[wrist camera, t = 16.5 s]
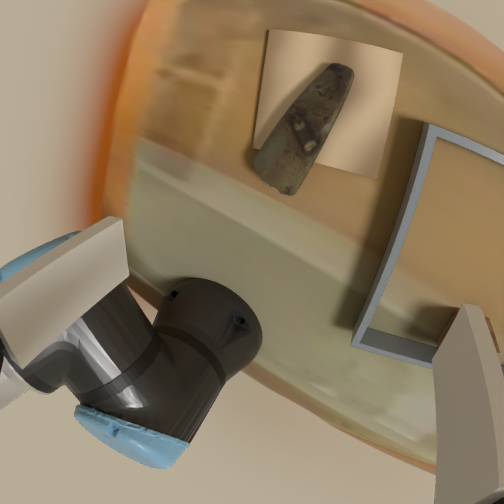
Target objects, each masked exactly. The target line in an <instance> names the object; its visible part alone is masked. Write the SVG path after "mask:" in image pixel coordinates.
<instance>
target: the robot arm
mask: <svg viewBox="0 0 504 504" xmlns="http://www.w3.org/2000/svg"><path fill="white" fill-rule="evenodd" d="M128 276H129V269H128V262H127V255H126V247H125V239H124V230H123V220H122V219H121V218H117V217H113V216H108V217H106V218H104V219H103V220H101V221H99V222H97V223H95V224H94V225H92V226H90V227H89V228H87V229H85V230H83V231H76V232H73V233H69V234H67V235H64V236H61V237H59V238H57V239H54V240H52V241H50V242H47V243H46V244H43V245H41V246H39V247H37V248H35V249H33V250H31V251H29V252H27V253H25V254H23V255H21V256H19V257H17V258H16V259H14V260H12V261H10V262H9V263H7V264H6V265H4V266H3V267H2V268H1V269H0V410H1V409H2V408H4V407H5V406H7V405H8V404H10V403H11V402H12V401H14V400H15V399H17V398H18V397H20V396H21V395H22V394H24V393H25V392H27V391H28V390H32V391H35V392H37V393H40V394H44V395H47V394H50V393H52V392H54V391H55V390H57V389H58V388H59V387H61V386H63V385H66V386H67V388H68V389H69V390H70V391H71V392H72V393H73V394H74V395H75V397H76V398H77V399H78V400H79V401H80V405H77V406H76V410H75V412H74V416H75V418H76V420H78V421H79V423H80V424H81V425H82V426H83V427H84V428H85V429H86V430H88V431H89V432H90V433H91V434H92V435H94V436H95V437H96V438H98V439H99V440H101V441H102V442H103V443H105V444H107V445H108V446H110V447H111V448H113V449H115V450H116V451H118V452H119V453H122V454H123V455H125V456H127V457H129V458H131V459H133V460H135V461H137V462H139V463H141V464H144V465H146V466H149V467H153V468H157V469H165V468H168V467H171V466H172V465H173V464H174V463H175V462H176V461H177V459H178V458H179V457H180V455H181V454H182V453H183V451H184V450H185V449H186V448H188V447H189V445H190V442H191V441H192V439H193V437H194V436H195V434H196V432H197V431H198V429H199V427H200V426H201V424H202V422H203V420H204V419H205V417H206V415H207V413H208V412H209V410H210V408H211V407H212V405H213V403H214V401H215V399H216V398H217V396H218V394H219V393H220V391H221V389H222V387H223V386H224V384H225V383H226V381H228V380H229V379H230V378H231V377H233V376H234V375H235V374H237V373H238V372H239V371H240V370H242V369H243V368H244V367H245V366H247V365H248V364H249V363H250V362H251V361H252V360H253V359H254V358H255V356H256V355H257V353H258V351H259V349H260V347H261V344H262V330H261V326H260V323H259V321H258V319H257V317H256V315H255V313H254V312H253V310H252V309H251V308H250V307H249V305H248V304H247V303H246V302H245V301H244V300H243V299H242V298H241V297H240V296H238V295H237V294H236V293H235V292H233V291H232V290H230V289H229V288H227V287H225V286H223V285H221V284H219V283H217V282H214V281H211V280H207V279H202V278H189V279H184V280H182V281H179V282H178V283H176V284H175V285H174V286H173V287H172V288H171V289H170V290H169V291H168V292H167V293H166V295H165V296H164V298H163V300H162V303H161V305H160V308H159V310H158V313H157V315H156V318H155V320H154V323H153V325H152V324H151V323H150V321H149V320H148V318H147V317H146V315H145V314H144V312H143V311H142V309H141V308H140V306H139V305H138V303H137V302H136V300H135V299H134V297H133V296H132V294H131V292H130V291H129V289H128V287H127V286H126V284H125V283H124V281H123V280H125V279H126V278H127V277H128ZM432 366H433V376H434V387H435V402H436V425H437V463H436V485H435V498H434V504H504V376H503V372H502V368H501V365H500V362H499V358H498V355H497V352H496V349H495V346H494V343H493V340H492V337H491V334H490V331H489V328H488V325H487V323H486V320H485V317H484V315H483V312H482V310H481V307H479V306H475V305H471V304H467V303H463V304H462V306H461V308H460V310H459V312H458V314H457V316H456V318H455V320H454V322H453V324H452V325H451V327H450V329H449V331H448V333H447V335H446V336H445V338H444V340H443V342H442V343H441V345H440V347H439V349H438V350H437V352H436V354H435V355H434V357H433V358H432Z"/></svg>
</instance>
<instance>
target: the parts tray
mask: <svg viewBox="0 0 504 504" xmlns="http://www.w3.org/2000/svg"><path fill="white" fill-rule="evenodd" d="M436 137H440V138H443V139H445V140H448V141H450V142H453V143H455V144H458V145H460V146H463V147H465V148H467V149H470V150H472V151H474V152H477V153H479V154H481V155H483V156H486V157H488V158H490V159H492V160H494V161H496V162H498V163H500V164H502V165H504V155H502V154H500V153H498V152H496V151H494V150H492V149H490V148H488V147H486V146H483V145H481V144H479V143H477V142H475V141H472V140H470V139H468V138H465V137H463V136H461V135H458V134H456V133H453V132H451V131H448V130H446V129H443V128H440V127H438V126H435V125H432V124H429V123H427V122H424V124H423V128H422V132H421V136H420V141H419V145H418V149H417V152H416V156H415V160H414V164H413V167H412V171H411V175H410V178H409V181H408V185H407V188H406V192H405V195H404V198H403V201H402V204H401V208H400V211H399V214H398V217H397V220H396V223H395V226H394V229H393V232H392V234H391V237H390V240H389V243H388V246H387V248H386V251H385V254H384V256H383V259H382V262H381V264H380V267H379V270H378V272H377V275H376V277H375V280H374V282H373V285H372V287H371V289H370V292H369V294H368V297H367V299H366V301H365V304H364V306H363V308H362V311H361V313H360V315H359V317H358V320H357V322H356V324H355V326H354V329H353V334H352V339H351V345H350V346H352V347H355V348H359V349H362V350H365V351H369V352H372V353H376V354H379V355H383V356H386V357H390V358H393V359H397V360H400V361H404V362H408V363H411V364H415V365H419V366H422V367H426V368H430V369H433V366H432V358H433V357H434V355H435V354H436V352H437V350H438V348H436V347H432V346H429V345H425V344H422V343H418V342H415V341H411V340H408V339H404V338H401V337H397V336H394V335H391V334H387V333H384V332H381V331H377V330H374V329H371V328H367V327H368V325H369V322H370V320H371V318H372V316H373V314H374V312H375V310H376V308H377V305H378V303H379V301H380V299H381V296H382V294H383V292H384V290H385V287H386V285H387V283H388V280H389V278H390V276H391V273H392V271H393V268H394V266H395V263H396V261H397V258H398V256H399V253H400V251H401V248H402V246H403V243H404V240H405V238H406V235H407V232H408V229H409V227H410V224H411V221H412V218H413V215H414V212H415V209H416V206H417V203H418V200H419V197H420V194H421V191H422V187H423V184H424V181H425V178H426V174H427V171H428V167H429V164H430V160H431V156H432V153H433V149H434V145H435V141H436ZM501 368H502V372H503V376H504V365H501Z"/></svg>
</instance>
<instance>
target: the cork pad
mask: <svg viewBox="0 0 504 504" xmlns="http://www.w3.org/2000/svg"><path fill="white" fill-rule="evenodd" d="M402 57H403V54H402V53H399V52H395V51H392V50H388V49H384V48H380V47H377V46H372V45H368V44H364V43H360V42H355V41H350V40H345V39H340V38H335V37H329V36H323V35H316V34H309V33H302V32H294V31H284V30H273V29H269V36H268V43H267V50H266V57H265V64H264V71H263V77H262V85H261V92H260V99H259V106H258V113H257V120H256V128H255V135H254V142H253V148H254V149H259V150H260V148H261V147H262V145H263V144H264V142H265V141H266V139H267V138H268V136H269V135H270V133H271V132H272V130H273V129H274V128H275V126H276V125H277V123H278V122H279V121H280V119H281V118H282V117H283V115H284V114H285V113H286V111H287V110H288V109H289V107H290V106H291V105H292V104H293V102H294V101H295V100H296V99H297V98H298V96H299V95H300V94H301V93H302V92H303V91H304V90H305V89H306V87H307V86H308V85H309V84H310V83H311V82H312V81H313V80H314V79H315V78H316V77H317V76H318V75H319V74H320V73H322V72H323V71H324V70H325V69H326V68H327V67H328V66H329V65H330V64H332V63H340V64H342V65H346V66H348V67H350V68H351V69H353V71H354V80H353V83H352V86H351V88H350V91H349V93H348V96H347V98H346V100H345V102H344V105H343V107H342V109H341V111H340V113H339V115H338V117H337V119H336V121H335V123H334V125H333V127H332V129H331V131H330V133H329V135H328V137H327V139H326V141H325V143H324V145H323V147H322V149H321V151H320V152H319V154H318V156H317V158H316V160H315V161H314V162H315V163H319V164H323V165H326V166H330V167H334V168H337V169H341V170H345V171H348V172H352V173H355V174H359V175H362V176H365V177H369V178H372V179H375V180H377V176H378V172H379V168H380V164H381V160H382V156H383V152H384V148H385V144H386V140H387V135H388V131H389V126H390V122H391V117H392V112H393V108H394V103H395V98H396V92H397V87H398V81H399V76H400V70H401V64H402Z"/></svg>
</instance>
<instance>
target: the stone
mask: <svg viewBox="0 0 504 504" xmlns="http://www.w3.org/2000/svg"><path fill="white" fill-rule="evenodd" d="M353 80H354V71H353V69H351V68H350V67H348V66H346V65H342V64H340V63H332V64H330V65H329V66H328V67H327V68H326V69H325V70H324V71H323V72H322V73H320V74H319V75H318V76H317V77H316V78H315V79H314V80H313V81H312V82H311V83H310V84H309V85H308V86H307V87H306V89H305V90H304V91H303V92H302V93H301V94H300V95H299V96H298V98H297V99H296V100H295V101H294V102H293V104H292V105H291V106H290V107H289V109H288V110H287V111H286V113H285V114H284V115H283V117H282V118H281V119H280V121H279V122H278V123H277V125H276V126H275V128H274V129H273V130H272V132H271V133H270V135H269V136H268V138H267V139H266V141H265V142H264V144H263V145H262V147H261V148H260V150H259V152H258V153H257V155H256V156H255V158H254V161H253V164H254V168H255V170H256V172H257V174H258V175H259V176H260V177H261V179H262V180H264V181H266V182H267V183H268V184H269V185H270V186H272V187H276V188H277V190H279V192H280V193H282V194H286V195H294V194H296V192H297V190H298V189H299V187H300V186H301V184H302V182H303V181H304V179H305V177H306V176H307V174H308V172H309V170H310V168H311V167H312V165H313V163H314V161H315V160H316V158H317V156H318V154H319V152H320V151H321V149H322V147H323V145H324V143H325V141H326V139H327V137H328V135H329V133H330V131H331V129H332V127H333V125H334V123H335V121H336V119H337V117H338V115H339V113H340V111H341V109H342V107H343V105H344V102H345V100H346V98H347V96H348V93H349V91H350V88H351V86H352V83H353Z"/></svg>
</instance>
